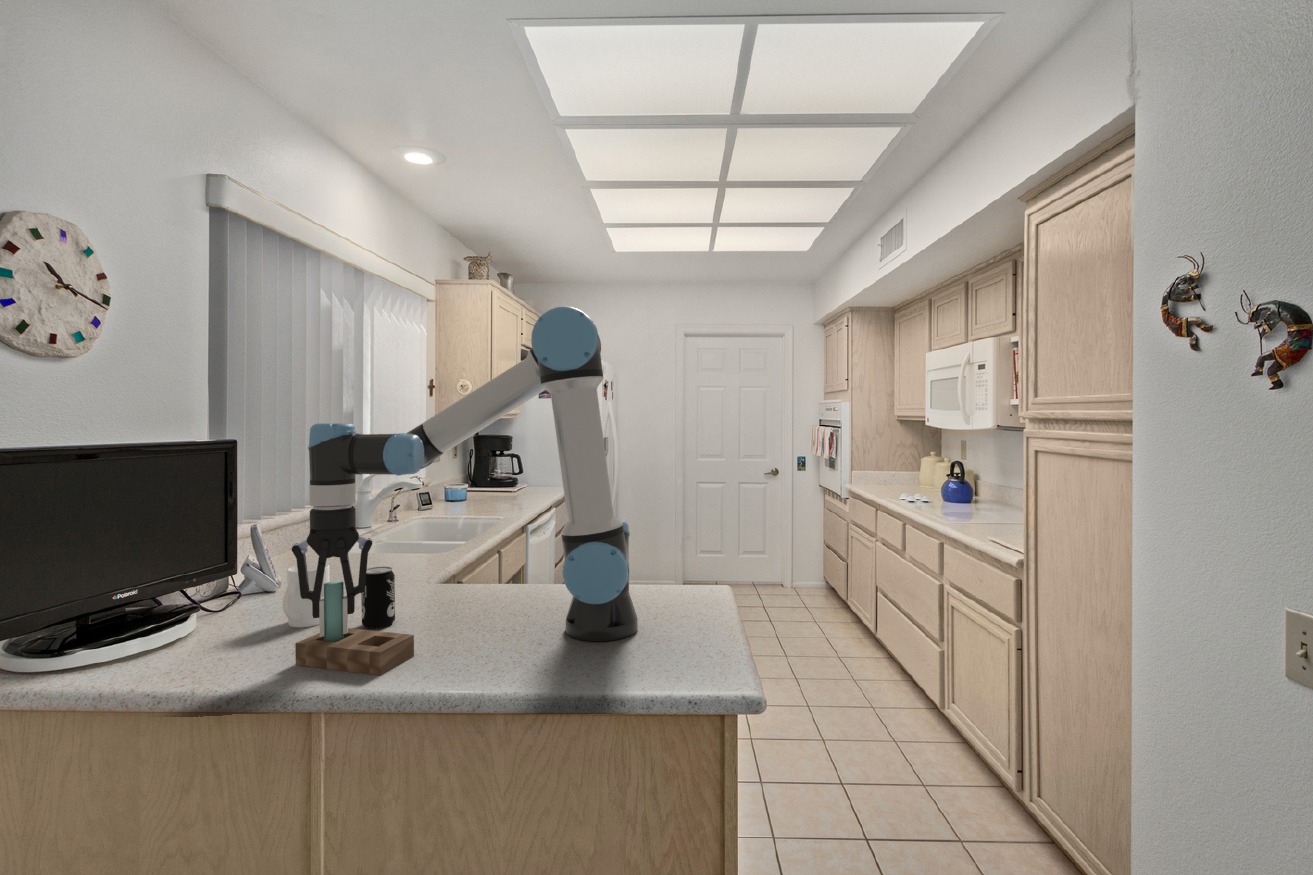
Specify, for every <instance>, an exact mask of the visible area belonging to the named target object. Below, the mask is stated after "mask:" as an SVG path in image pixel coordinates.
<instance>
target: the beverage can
mask: <svg viewBox="0 0 1313 875" xmlns="http://www.w3.org/2000/svg"><path fill="white" fill-rule="evenodd" d="M395 576H396V575H395V573H394V572H393V567H391V566H374V567H370V568H368V567H367V571H366V582H365V591H364V592H363V593H360V594H361V597H360V598H361V625H362V626H364V628H365V629H369V630H375V629H382V628H386V627H389V626H391V625H392V624H393V623H394V622H395V621H396V593H395V592H396V590H395V589H396V587H395V586H396V584H395V580H396V579H395V578H396V577H395Z"/></svg>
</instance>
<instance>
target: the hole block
mask: <svg viewBox="0 0 1313 875" xmlns="http://www.w3.org/2000/svg"><path fill="white" fill-rule="evenodd" d="M294 644H295V645H294V646H295V648H294V649H295V650H294V651H295V666H299V665H302V666H301V667H307V666H309V668H315V667H317V669H325V670H334V671H341V672H349V673H350V672H351V673H357V674H366V675H374V676H382V675H384V674H385V673H387V672H388V671H390V670H393V669H394V668H396V667H397V666H399V665H401V664H402V663H405V662H406V661H408V660H410V659H411V658H413V657H415V634H410V633H409V634H408V633H401V632H399V633H398V632H390V631H382V630H381V631H379V630H372V629H369V630H368V629H359V628H349V627H348V633H347V634H344V639H342V640H340V641H338V642H330V641H324V637H320V632H318V633H316V634H313V635H311V636H309V637H306V638H304V639H302V640H298V641H297V642H295V643H294Z"/></svg>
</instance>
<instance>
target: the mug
mask: <svg viewBox="0 0 1313 875" xmlns="http://www.w3.org/2000/svg"><path fill="white" fill-rule="evenodd" d="M306 564H307V573H308V582H309V590H310V591H313V590H314V584H315V578H316V572H317V566H318V562H316V563H306ZM286 572H287V573H286V574H287V586H286V589H285V592H284V594H283V598H282V610H283V613H284V615H285V616H286V617H287V620H288V622H287V624H288V626H289V627H292V628H309V627H315V626H320V620H319V618H313V616H312V601H311V600H310V599H302V598H301V595H300V586H299V577H298V568H297V565H295V566H291V567H289V568H288V569H287V570H286ZM328 582H331V581H330V565H329V564H328V563H326V566H325V572H324V578H323V584H322V590H321V595H320V596H321V598H322V597H324V584H325V583H328Z"/></svg>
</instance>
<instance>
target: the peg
mask: <svg viewBox="0 0 1313 875" xmlns="http://www.w3.org/2000/svg"><path fill="white" fill-rule="evenodd" d="M344 588H345V586H344V581H341V580H340V581H339V580H335V581H330V582H328V583H325V584H324V613H325V636H324V641H330V642H338V641H340V640H342V639H344V634H343V597H344V595H345V594H344V593H345V592H344Z"/></svg>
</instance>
